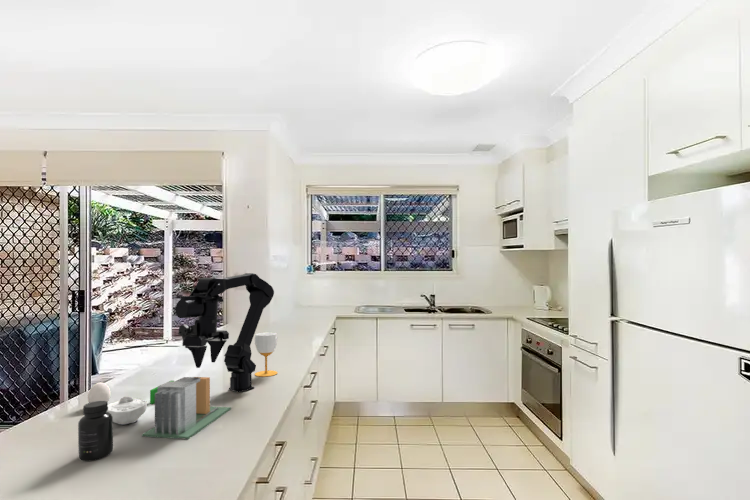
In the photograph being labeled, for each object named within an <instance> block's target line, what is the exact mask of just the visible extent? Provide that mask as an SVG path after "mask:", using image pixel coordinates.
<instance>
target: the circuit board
mask: <svg viewBox="0 0 750 500" xmlns="http://www.w3.org/2000/svg"><path fill="white" fill-rule="evenodd" d="M216 407H218V410H216V411H215V412H213V413H212V414H210V415H209V416H207V417H206V418H204V419H203V420H201V421H200V422H198V423H197V424H196V425H195V426H194V427H192V428H191V429H189V430H188V431H186V432H182V433H181V434H179V435H176V432H175V433H173V434H172V435H169V432H167V433H165V434H162V431H161V432H159V433H158V434H155V426H154V427H152V428H151V429H149V430H146V431H145V432H143V433H142V435H141V436H146V437H145V438H160V437H163V439H177V438H185V439H184V440H189V439H190V437H191V438H193V436H195V435H197V434H198V433H199V432H201V431H202V430H204V429H205V428H206V427H208V426H209V425H211V424H212V423H214V422H216V420H218V419H219V418H221V417H222V416H224V415H225V414H226V413H228V412H229V411H231V409H232V407H230V406H211V405H210V411H212V410H213V409H215V408H216ZM208 413H209V412H208ZM204 415H206V414H197V413H196V420H198V419H199V418H201V417H202V416H204ZM197 432H198V433H197ZM186 438H187V439H186Z"/></svg>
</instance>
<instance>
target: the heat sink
mask: <svg viewBox="0 0 750 500" xmlns="http://www.w3.org/2000/svg"><path fill="white" fill-rule="evenodd" d="M198 377H199V376H192V377H191V376H183V377H182V378H178V379H177V380H169V381H167V382H164V383H162V384H160V385H157V387H158V390H157V393H155V403H154V427H155V434H158V433H159V432H161V431H162V434H165V433H167V432H169V435H172V434H173V433H175V432H176V435H179V434H181V433H182V432H186V431H188V430H189V429H191V428H192V427H194V426H195V425H196V424H197V423H198V422H200V421H201V420H203V419H204V418H206V417H207V416H209V415H210V414H212V413H213V412H215V411H216V410H218V407H219V406H215V407H216V408H215V409H213V410H212V411H210V412H209V413H207V414H206V415H204V416H202V417H201V418H199V419H198V420H196V383H198V382H200V378H198Z"/></svg>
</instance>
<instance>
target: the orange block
mask: <svg viewBox="0 0 750 500" xmlns="http://www.w3.org/2000/svg"><path fill="white" fill-rule="evenodd" d="M197 377H198V378H200V382H198V383H196V413H197V414H207V413H208V412H210V406H211V378H210V377H207V376H202V377H201V376H197Z"/></svg>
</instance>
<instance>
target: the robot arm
mask: <svg viewBox="0 0 750 500" xmlns="http://www.w3.org/2000/svg"><path fill="white" fill-rule="evenodd" d="M243 286H245V290H246V291H247V292H248V293H249V296H248V299H249V304H250V305H249V307H248V311H247V312H246V316H245V318H244V321H243V323H242V326H241V328H240V332H239V334H238V337H237V339H236V342H234V343H233V344H229V345H228V346H227V349H226V352H225V353H224V355H223V356H224V359H223V362H224V364H225V366H226V369H227V372H229V373H230V377H229V388H228V390H230V391H233V392H235V393H241V392H245V391H250V390H253V389H255V386H253V385H252V373H253V372H254V373H255V371H256V366H257V364H256V363H255V362H254V361H253V360H252V359H251V357H252V349H251V344H252V341H253V339H254V337H255V335H256V332H257V331H256V330H257V328H258V325H259V323H260V320H261V317H262V315H263V311H264V309H265V308H266V307H267V306H268V305H269V304H270V303H271V302H272V300H273V298H274V296H275V295H274V294H275V290H274V288H273V286H272V285H271V284H270V283H268V281H265V280H264V279H262V278H260V276H259V275H258V274H257V273H252V272H251V273H248V272H247V273H244V274H239V275H232V276H227V277H201V278H199V279H198V281H197V283H196V285H195V287H194V288H193V290H192V291H191V293H190V295H180V300H178V301H177V303H176V306H174V307H175V308H174V310H175V311H174V312H175V315H176V316H177V317H178V318H179V319H189V318H198V319H195V320H194V323H193V324H192V325H188V324H182V325H179V328H178V333H177V334H178V336H181V337H182V344H181V346H182V347H184V348H185V349H188V350H189V352H191V355H192V357H193V360H194V364H195V367H196V369H200V368H201V366H202V363H203V360H204V357H205V354H206V351H207V348H208V345H209V349H210V360H211V363H215V362H216V361H217V359H218V357H219V355H220V353H221V351H222V349H223V347H224V345H225V344H226V342H227V340H228V339H229V337H230V333H229V332H228V331H227V330H219V329H218V323H220V321H221V320H220V318H218V310H219V309H218V308H219V307H218V306H219V303H222V302H224V299H223V298H222V297H220V295H221V294H222V293H224V292H225V291H226V290H230V289H234V288H238V287H243ZM207 344H208V345H207Z"/></svg>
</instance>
